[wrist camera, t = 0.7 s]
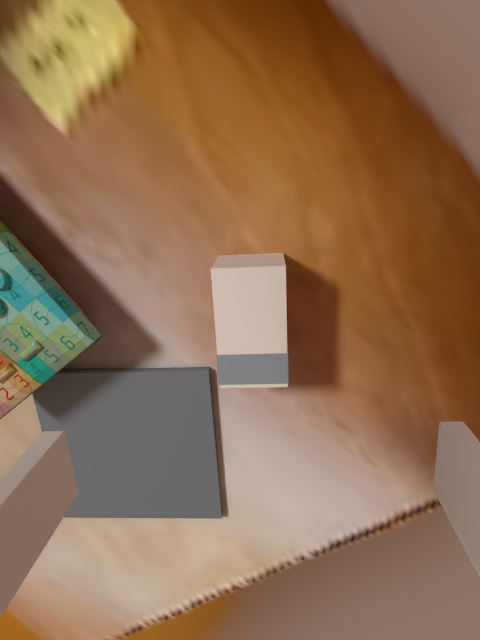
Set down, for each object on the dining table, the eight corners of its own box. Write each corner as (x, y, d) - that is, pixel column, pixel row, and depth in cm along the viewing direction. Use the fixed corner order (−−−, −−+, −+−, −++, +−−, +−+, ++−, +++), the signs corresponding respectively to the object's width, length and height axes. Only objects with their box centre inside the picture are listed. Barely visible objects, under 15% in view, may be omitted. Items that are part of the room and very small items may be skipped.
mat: (31, 371, 36) (27, 374, 36) (209, 366, 35) (208, 370, 34) (66, 512, 41) (63, 517, 41) (222, 513, 40) (221, 518, 40)
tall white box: (218, 255, 32) (209, 268, 27) (283, 252, 32) (286, 265, 27) (225, 359, 35) (219, 388, 30) (285, 358, 34) (288, 387, 30)
